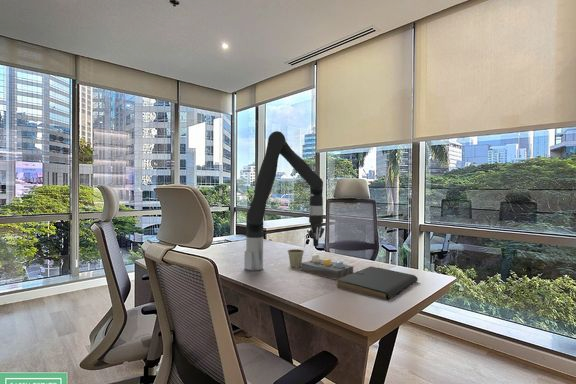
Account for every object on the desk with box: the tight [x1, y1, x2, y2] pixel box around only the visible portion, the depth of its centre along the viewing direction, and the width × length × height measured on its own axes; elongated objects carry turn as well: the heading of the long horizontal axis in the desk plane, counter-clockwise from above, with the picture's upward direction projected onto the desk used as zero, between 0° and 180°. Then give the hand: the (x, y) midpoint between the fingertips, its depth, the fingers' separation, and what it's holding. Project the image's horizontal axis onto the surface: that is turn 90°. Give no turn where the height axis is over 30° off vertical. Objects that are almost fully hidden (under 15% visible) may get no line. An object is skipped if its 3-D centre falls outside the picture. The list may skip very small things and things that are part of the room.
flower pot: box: [287, 248, 305, 268], centre depth 169 cm, size 9×9×9 cm
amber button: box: [322, 258, 332, 266], centre depth 157 cm, size 4×4×5 cm
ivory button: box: [311, 253, 320, 264], centre depth 162 cm, size 4×4×5 cm
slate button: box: [335, 260, 344, 269], centre depth 152 cm, size 4×4×5 cm
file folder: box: [336, 266, 419, 301], centre depth 138 cm, size 33×4×24 cm
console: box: [300, 258, 354, 280], centre depth 157 cm, size 14×23×4 cm, turn 47°
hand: (315, 246), depth 162 cm, fingers closed
